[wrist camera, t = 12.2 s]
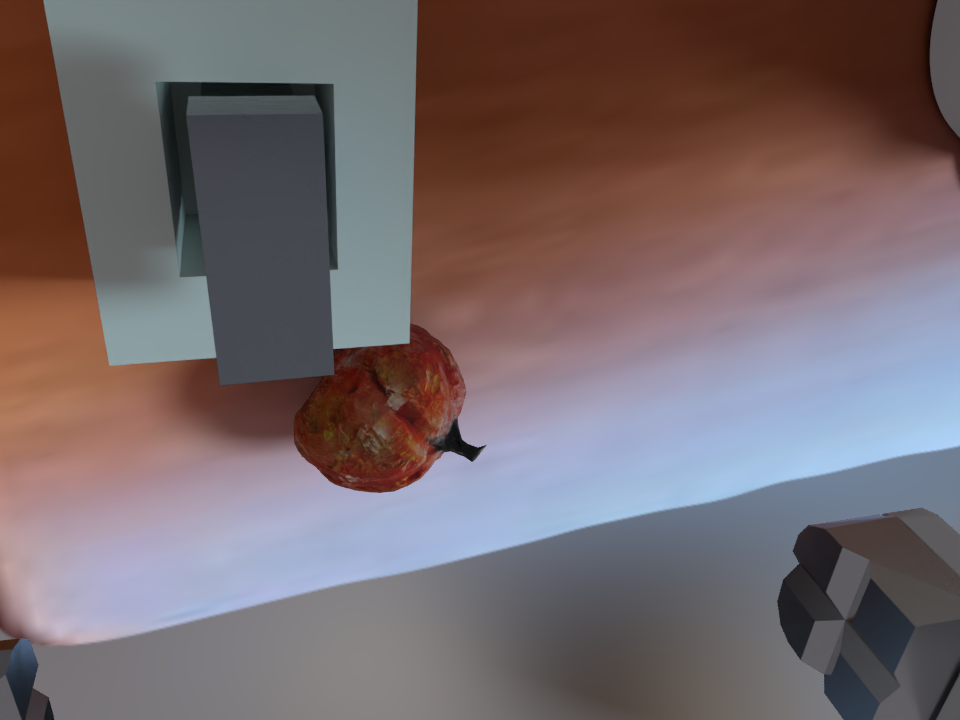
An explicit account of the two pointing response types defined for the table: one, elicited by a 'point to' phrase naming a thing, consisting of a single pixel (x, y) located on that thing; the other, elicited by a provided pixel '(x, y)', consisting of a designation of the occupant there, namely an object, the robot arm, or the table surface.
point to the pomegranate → (384, 415)
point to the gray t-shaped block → (263, 229)
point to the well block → (168, 165)
